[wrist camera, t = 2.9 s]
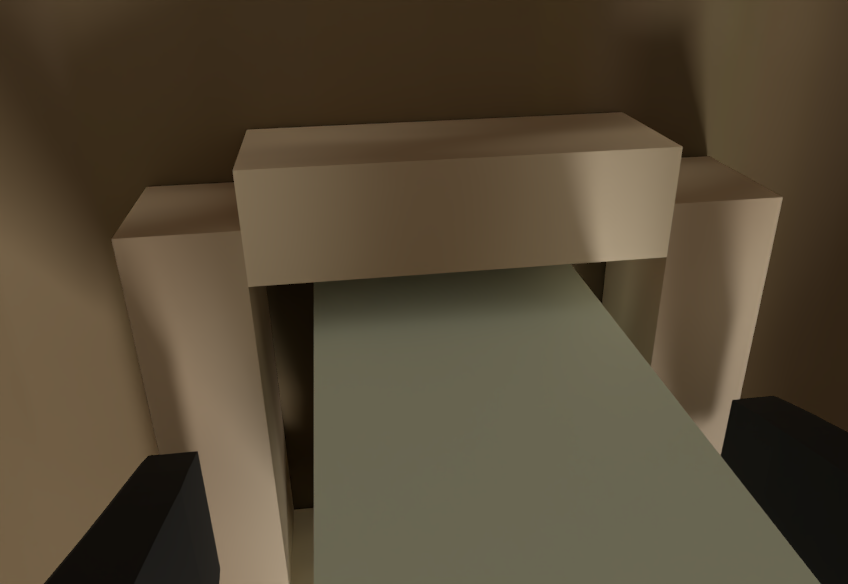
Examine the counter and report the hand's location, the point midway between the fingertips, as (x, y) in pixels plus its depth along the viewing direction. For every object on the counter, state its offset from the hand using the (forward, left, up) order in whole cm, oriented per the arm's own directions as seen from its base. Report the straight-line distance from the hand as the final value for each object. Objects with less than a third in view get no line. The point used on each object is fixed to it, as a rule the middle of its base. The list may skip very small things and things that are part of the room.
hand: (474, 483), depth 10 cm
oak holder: (0, 0, -3) cm, 3 cm away
